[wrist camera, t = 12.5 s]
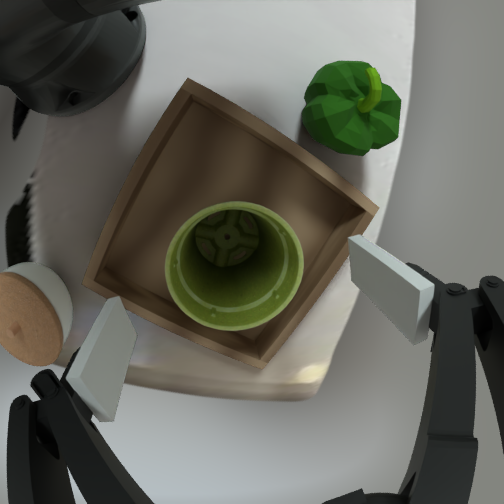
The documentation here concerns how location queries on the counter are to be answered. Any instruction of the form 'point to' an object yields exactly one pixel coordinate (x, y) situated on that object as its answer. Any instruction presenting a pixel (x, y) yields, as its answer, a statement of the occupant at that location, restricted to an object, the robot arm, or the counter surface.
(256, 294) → the plant pot
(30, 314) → the lidded jar
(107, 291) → the walnut tray
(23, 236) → the counter surface
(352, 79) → the bell pepper
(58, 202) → the counter surface
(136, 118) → the counter surface
